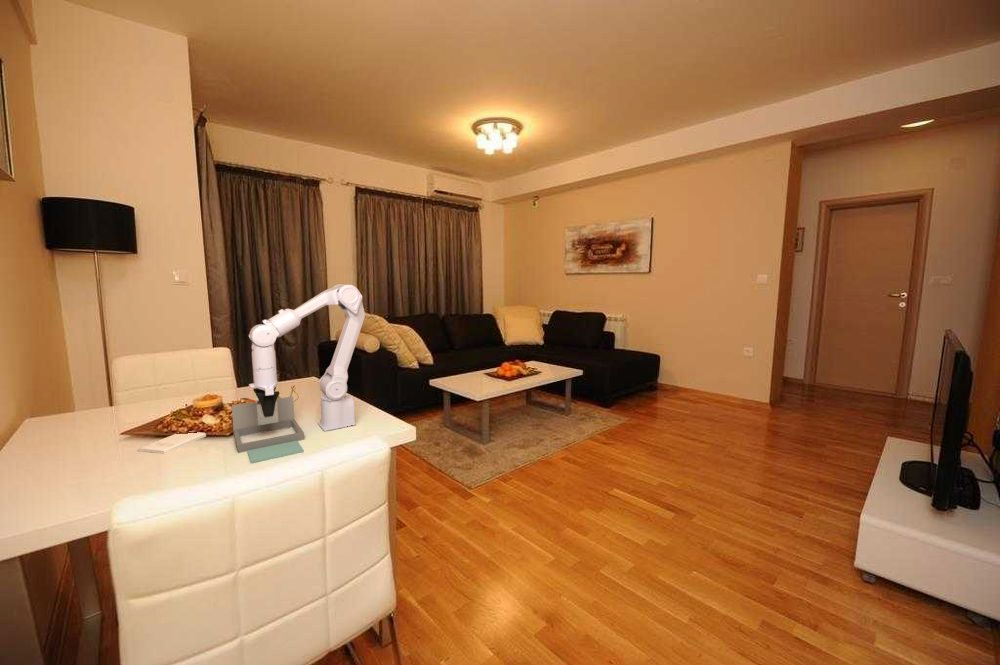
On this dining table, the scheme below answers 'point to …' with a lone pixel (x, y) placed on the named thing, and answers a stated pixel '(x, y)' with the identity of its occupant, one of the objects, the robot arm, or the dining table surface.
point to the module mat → (274, 451)
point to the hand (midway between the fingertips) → (267, 414)
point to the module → (261, 418)
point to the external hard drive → (171, 443)
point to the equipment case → (248, 425)
